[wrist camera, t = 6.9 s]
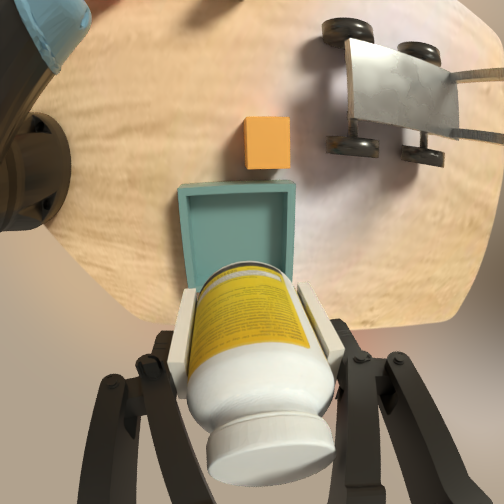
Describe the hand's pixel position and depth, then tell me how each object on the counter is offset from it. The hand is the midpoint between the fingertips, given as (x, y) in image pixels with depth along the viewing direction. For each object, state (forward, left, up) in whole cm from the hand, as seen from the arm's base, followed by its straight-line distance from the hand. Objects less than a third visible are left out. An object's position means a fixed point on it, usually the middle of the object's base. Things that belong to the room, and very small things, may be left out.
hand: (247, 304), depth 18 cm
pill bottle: (0, 0, -1) cm, 1 cm away
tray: (0, 0, -15) cm, 15 cm away
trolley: (+17, +17, -15) cm, 28 cm away
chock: (+3, +10, -15) cm, 18 cm away
